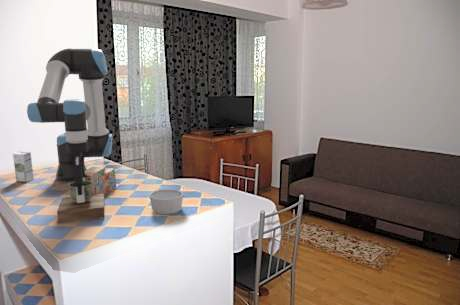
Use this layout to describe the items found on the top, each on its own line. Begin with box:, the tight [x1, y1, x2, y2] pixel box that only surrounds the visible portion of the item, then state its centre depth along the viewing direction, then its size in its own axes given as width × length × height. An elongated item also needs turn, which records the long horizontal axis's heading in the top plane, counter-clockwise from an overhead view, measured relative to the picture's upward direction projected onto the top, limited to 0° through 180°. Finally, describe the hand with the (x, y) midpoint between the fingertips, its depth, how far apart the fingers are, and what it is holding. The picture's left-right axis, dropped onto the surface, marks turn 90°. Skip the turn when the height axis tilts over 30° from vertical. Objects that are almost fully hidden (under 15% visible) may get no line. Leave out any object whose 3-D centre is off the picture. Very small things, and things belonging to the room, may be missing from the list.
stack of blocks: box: [83, 166, 117, 195], centre depth 164 cm, size 21×6×12 cm, turn 171°
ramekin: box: [149, 188, 184, 216], centre depth 146 cm, size 13×13×7 cm
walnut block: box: [56, 194, 106, 224], centre depth 142 cm, size 16×16×5 cm
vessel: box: [68, 180, 93, 202], centre depth 141 cm, size 12×9×6 cm
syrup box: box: [12, 150, 35, 183], centre depth 181 cm, size 6×6×14 cm
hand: (81, 197), depth 141 cm, fingers closed on vessel, 9 cm apart
